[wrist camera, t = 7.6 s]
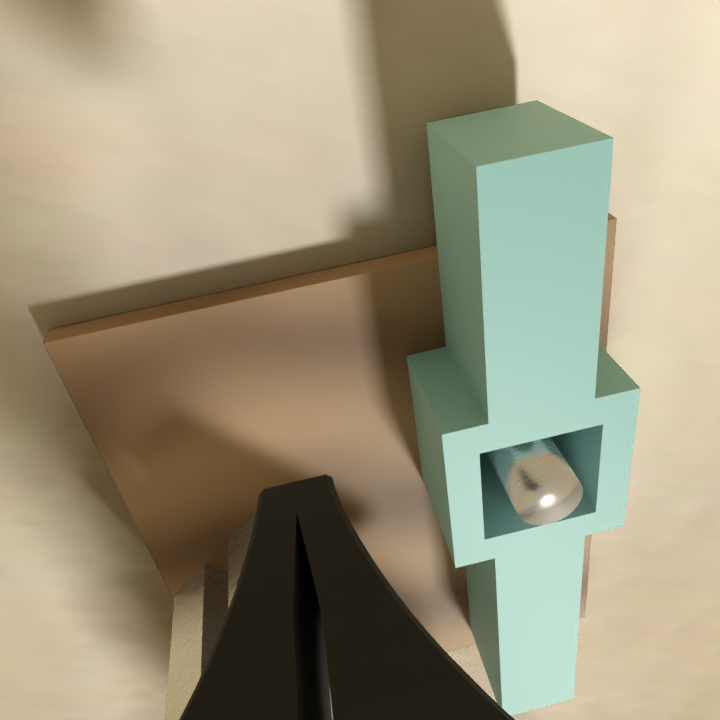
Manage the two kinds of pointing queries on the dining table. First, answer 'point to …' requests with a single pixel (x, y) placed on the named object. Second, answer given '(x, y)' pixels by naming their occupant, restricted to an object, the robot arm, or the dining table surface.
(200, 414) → the board
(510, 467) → the cylinder
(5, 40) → the dining table surface
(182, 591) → the keeper
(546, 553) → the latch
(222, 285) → the dining table surface
